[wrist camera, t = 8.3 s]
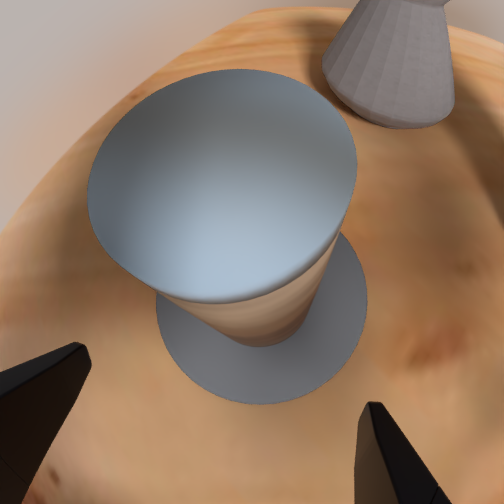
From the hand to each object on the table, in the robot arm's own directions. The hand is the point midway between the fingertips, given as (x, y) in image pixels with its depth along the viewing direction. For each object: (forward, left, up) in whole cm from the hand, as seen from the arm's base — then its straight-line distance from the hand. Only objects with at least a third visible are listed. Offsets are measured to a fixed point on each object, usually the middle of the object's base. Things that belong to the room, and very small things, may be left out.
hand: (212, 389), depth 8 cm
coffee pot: (+28, -9, -8) cm, 30 cm away
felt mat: (+5, 0, -8) cm, 9 cm away
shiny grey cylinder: (+5, 0, -8) cm, 9 cm away
